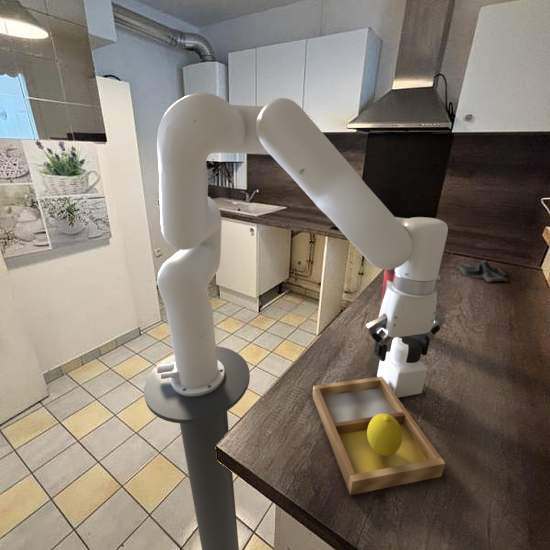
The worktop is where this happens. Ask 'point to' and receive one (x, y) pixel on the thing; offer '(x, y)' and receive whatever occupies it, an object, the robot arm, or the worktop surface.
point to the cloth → (483, 271)
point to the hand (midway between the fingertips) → (400, 354)
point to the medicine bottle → (404, 367)
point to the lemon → (384, 434)
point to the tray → (354, 443)
